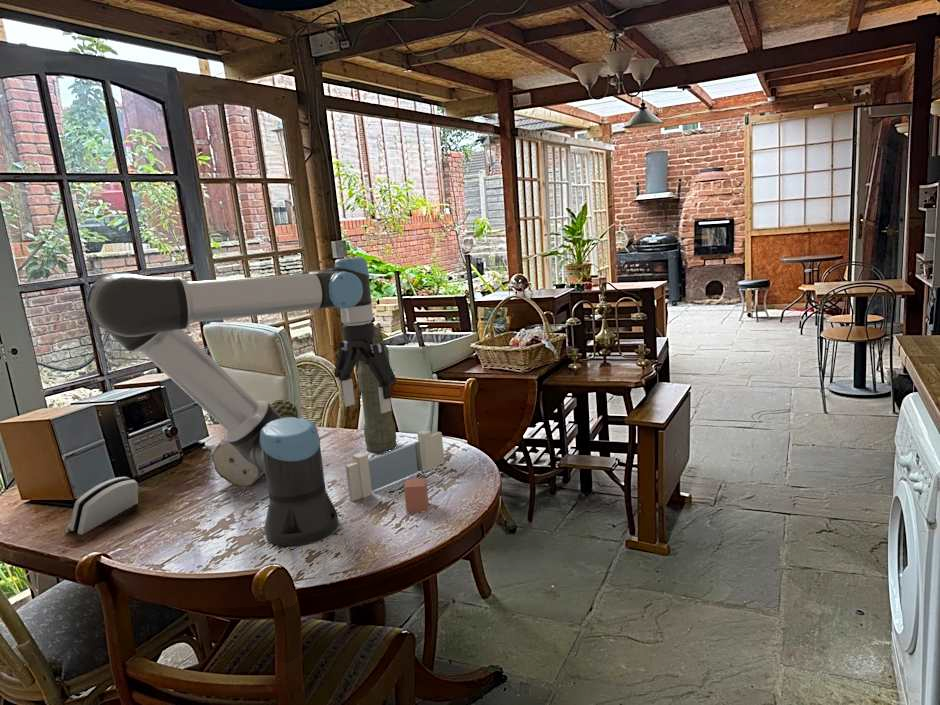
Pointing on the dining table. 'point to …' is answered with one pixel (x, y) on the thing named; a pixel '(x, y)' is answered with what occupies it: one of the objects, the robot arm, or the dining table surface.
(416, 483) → the reddish brown block
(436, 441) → the doorframe
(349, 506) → the dining table surface
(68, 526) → the white napkin holder
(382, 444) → the thermos
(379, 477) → the door
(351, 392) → the robot arm
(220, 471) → the potted plant
